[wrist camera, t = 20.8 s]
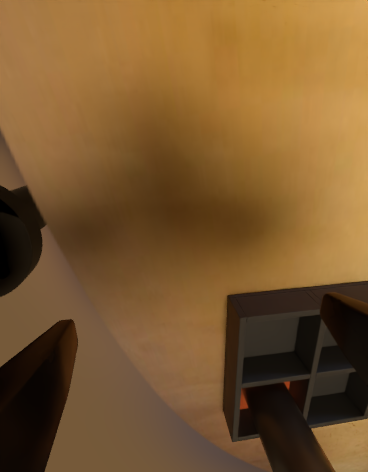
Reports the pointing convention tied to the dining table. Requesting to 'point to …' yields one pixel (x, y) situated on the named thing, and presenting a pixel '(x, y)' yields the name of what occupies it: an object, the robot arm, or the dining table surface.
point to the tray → (290, 357)
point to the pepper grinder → (284, 430)
